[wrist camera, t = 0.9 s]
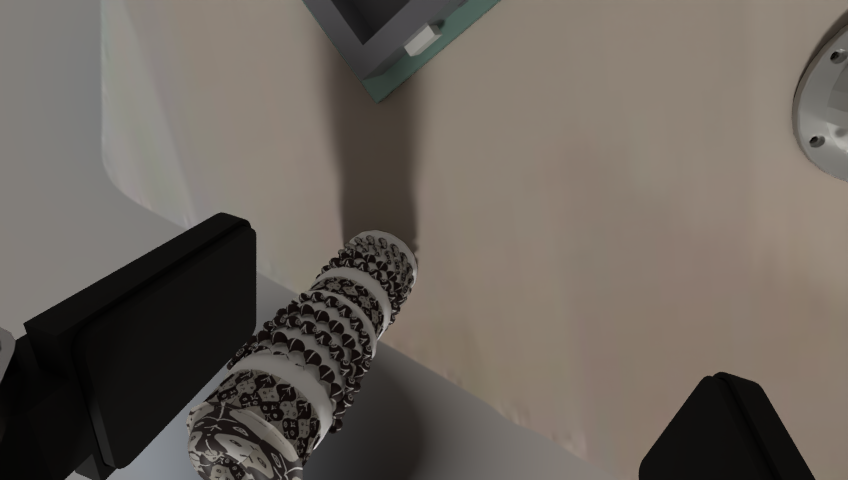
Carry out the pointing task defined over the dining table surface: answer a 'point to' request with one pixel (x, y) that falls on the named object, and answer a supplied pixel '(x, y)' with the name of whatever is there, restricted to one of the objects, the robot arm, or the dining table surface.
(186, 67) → the dining table surface
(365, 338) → the decorative candle
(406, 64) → the board
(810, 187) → the dining table surface
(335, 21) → the socket
